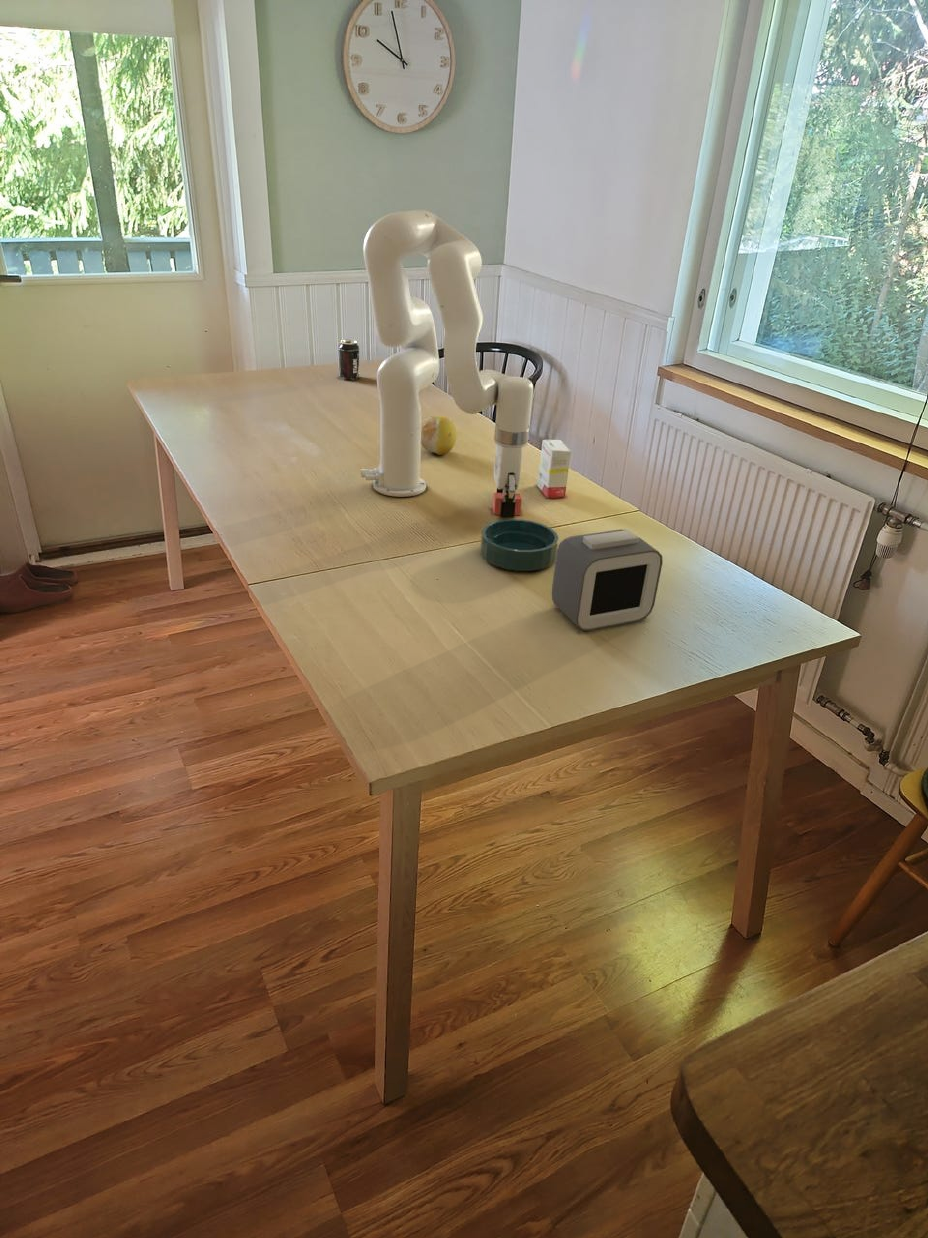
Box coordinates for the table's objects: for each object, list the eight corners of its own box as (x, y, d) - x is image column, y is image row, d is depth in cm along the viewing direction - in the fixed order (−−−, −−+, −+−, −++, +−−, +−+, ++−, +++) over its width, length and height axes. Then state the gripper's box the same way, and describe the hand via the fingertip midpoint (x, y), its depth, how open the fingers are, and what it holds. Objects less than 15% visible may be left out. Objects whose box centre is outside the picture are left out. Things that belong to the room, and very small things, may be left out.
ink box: (566, 498, 202) (572, 450, 196) (546, 498, 201) (552, 451, 195) (555, 484, 209) (561, 438, 203) (536, 485, 208) (541, 438, 202)
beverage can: (336, 379, 280) (335, 342, 274) (342, 374, 286) (341, 338, 279) (356, 381, 279) (355, 344, 273) (361, 376, 285) (361, 340, 279)
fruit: (436, 443, 230) (438, 407, 225) (463, 454, 224) (466, 418, 219) (408, 451, 224) (409, 414, 219) (435, 462, 218) (437, 425, 213)
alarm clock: (574, 633, 148) (586, 554, 140) (544, 603, 157) (553, 527, 149) (651, 619, 154) (666, 542, 146) (618, 590, 163) (630, 516, 155)
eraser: (494, 514, 191) (495, 498, 189) (492, 508, 194) (493, 492, 192) (520, 515, 192) (521, 499, 190) (518, 509, 195) (519, 493, 193)
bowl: (484, 573, 166) (485, 551, 163) (477, 539, 179) (478, 518, 177) (561, 575, 167) (564, 552, 165) (548, 541, 181) (551, 519, 178)
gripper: (490, 422, 191) (484, 494, 200) (498, 448, 176) (492, 525, 185) (523, 423, 191) (516, 495, 200) (534, 449, 177) (526, 525, 186)
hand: (504, 509), depth 193 cm, fingers open, 7 cm apart
